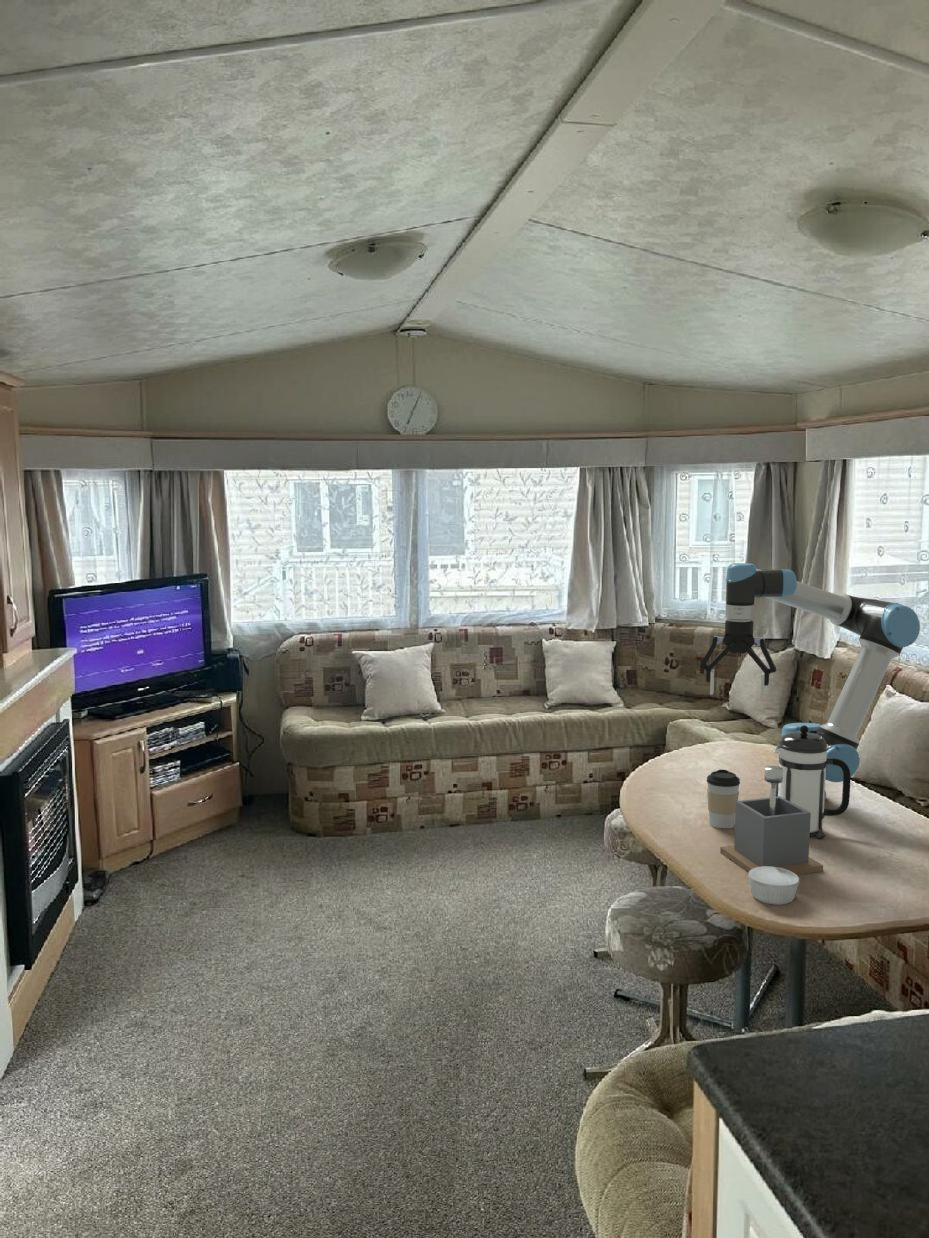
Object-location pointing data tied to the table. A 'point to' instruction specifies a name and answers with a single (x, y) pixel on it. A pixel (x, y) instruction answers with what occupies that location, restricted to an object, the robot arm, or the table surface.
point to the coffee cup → (722, 798)
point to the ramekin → (773, 884)
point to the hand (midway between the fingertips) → (736, 695)
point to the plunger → (773, 784)
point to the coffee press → (809, 775)
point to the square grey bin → (772, 837)
